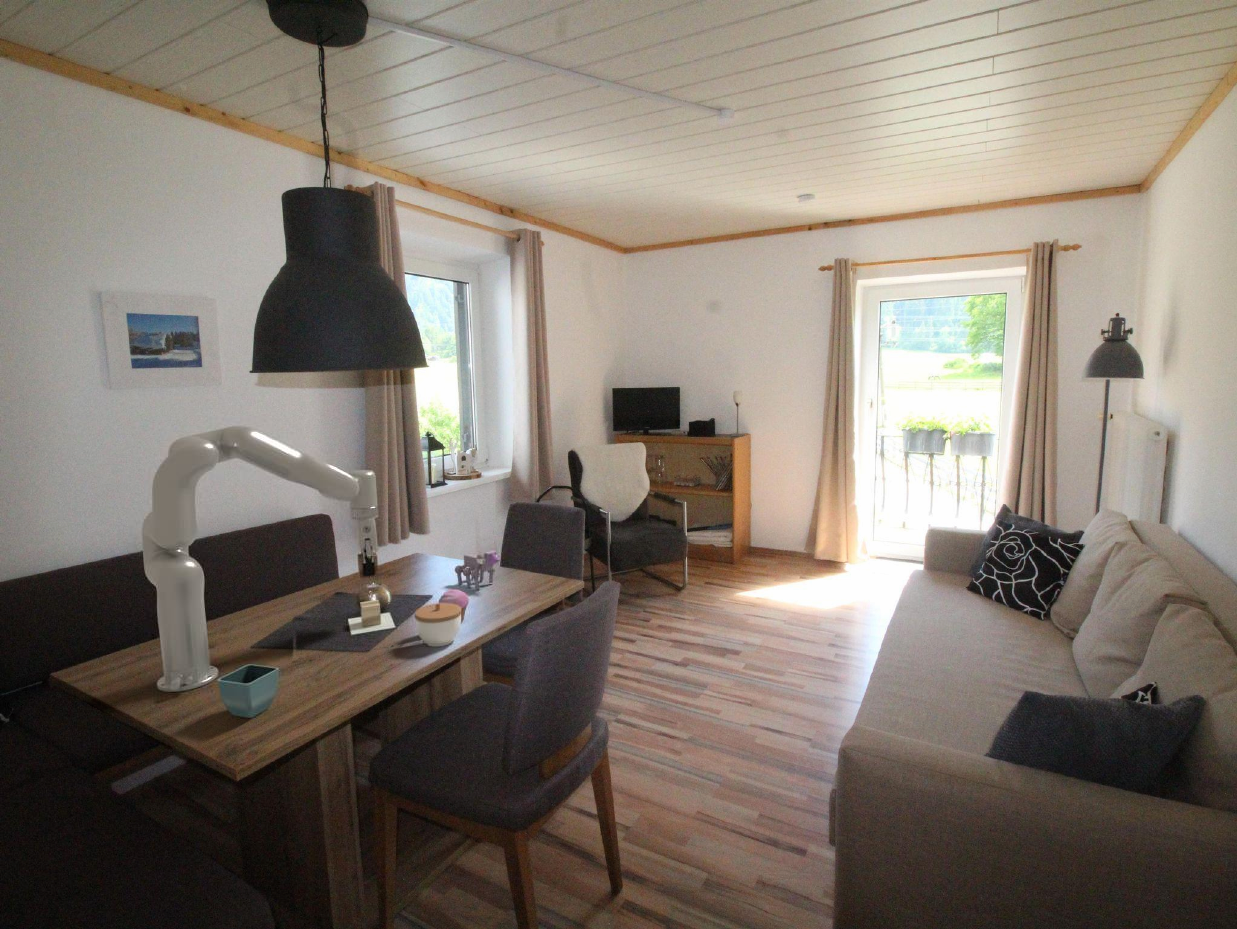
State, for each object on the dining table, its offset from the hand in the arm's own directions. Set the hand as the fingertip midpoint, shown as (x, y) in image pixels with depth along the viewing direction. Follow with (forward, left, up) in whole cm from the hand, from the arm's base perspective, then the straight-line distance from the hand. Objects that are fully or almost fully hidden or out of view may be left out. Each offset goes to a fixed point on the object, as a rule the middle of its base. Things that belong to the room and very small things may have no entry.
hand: (368, 572), depth 193 cm
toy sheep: (+23, -39, -17) cm, 49 cm away
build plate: (0, 0, -17) cm, 17 cm away
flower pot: (-42, +29, -17) cm, 54 cm away
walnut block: (0, 0, -1) cm, 1 cm away
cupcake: (-8, -23, -17) cm, 30 cm away
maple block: (0, 0, -16) cm, 16 cm away
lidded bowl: (-21, -16, -17) cm, 31 cm away
